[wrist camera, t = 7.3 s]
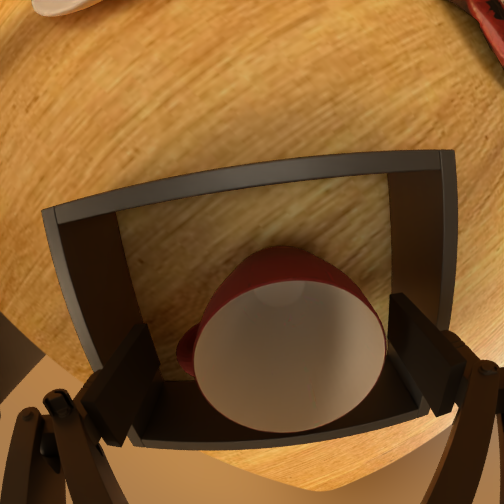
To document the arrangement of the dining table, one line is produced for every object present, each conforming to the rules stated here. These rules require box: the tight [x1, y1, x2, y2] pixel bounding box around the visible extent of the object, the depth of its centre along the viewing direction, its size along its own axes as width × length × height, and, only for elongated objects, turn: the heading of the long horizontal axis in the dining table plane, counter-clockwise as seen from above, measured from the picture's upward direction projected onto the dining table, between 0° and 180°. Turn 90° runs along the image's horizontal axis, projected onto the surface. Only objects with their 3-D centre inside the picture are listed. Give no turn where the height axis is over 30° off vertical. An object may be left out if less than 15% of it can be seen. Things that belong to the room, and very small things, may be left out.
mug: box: [176, 246, 387, 433], centre depth 16 cm, size 10×8×10 cm
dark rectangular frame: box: [41, 150, 458, 450], centre depth 18 cm, size 21×17×7 cm
